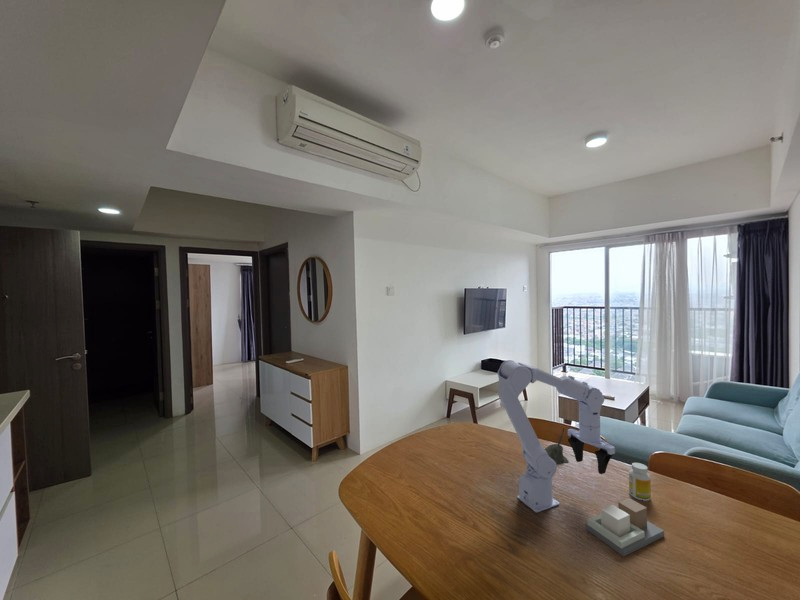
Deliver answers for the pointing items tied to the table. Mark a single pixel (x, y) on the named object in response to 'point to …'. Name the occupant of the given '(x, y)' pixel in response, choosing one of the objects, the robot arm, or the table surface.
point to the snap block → (615, 520)
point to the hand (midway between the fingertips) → (590, 466)
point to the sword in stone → (557, 452)
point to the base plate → (639, 529)
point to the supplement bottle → (639, 482)
